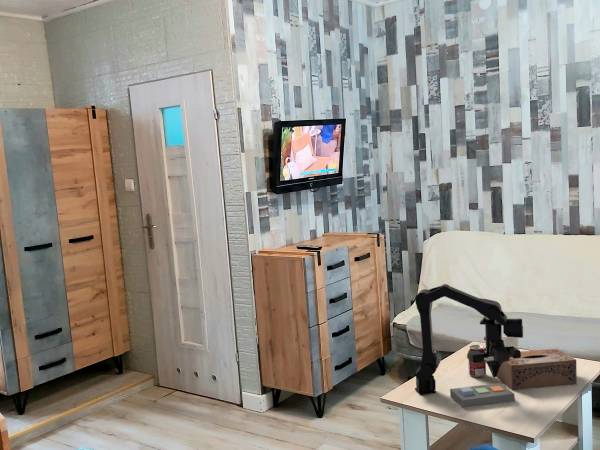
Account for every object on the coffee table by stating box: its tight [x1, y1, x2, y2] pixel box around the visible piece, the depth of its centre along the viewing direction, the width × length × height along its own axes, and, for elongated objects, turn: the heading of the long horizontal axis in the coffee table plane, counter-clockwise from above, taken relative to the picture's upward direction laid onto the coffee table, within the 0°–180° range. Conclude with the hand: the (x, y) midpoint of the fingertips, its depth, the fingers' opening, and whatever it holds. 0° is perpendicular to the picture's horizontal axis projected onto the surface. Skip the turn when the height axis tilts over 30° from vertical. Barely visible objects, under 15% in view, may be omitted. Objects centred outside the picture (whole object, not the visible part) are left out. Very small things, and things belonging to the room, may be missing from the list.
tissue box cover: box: [495, 348, 578, 391], centre depth 238 cm, size 26×14×10 cm, turn 95°
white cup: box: [502, 332, 519, 350], centre depth 267 cm, size 8×8×10 cm
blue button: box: [458, 386, 474, 396], centre depth 222 cm, size 4×4×3 cm
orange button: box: [489, 386, 505, 392], centre depth 224 cm, size 4×4×3 cm
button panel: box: [449, 382, 516, 409], centre depth 223 cm, size 20×11×3 cm, turn 99°
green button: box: [474, 388, 489, 394], centre depth 223 cm, size 4×4×3 cm
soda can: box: [467, 344, 487, 378], centre depth 247 cm, size 7×7×12 cm
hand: (494, 377), depth 224 cm, fingers closed
